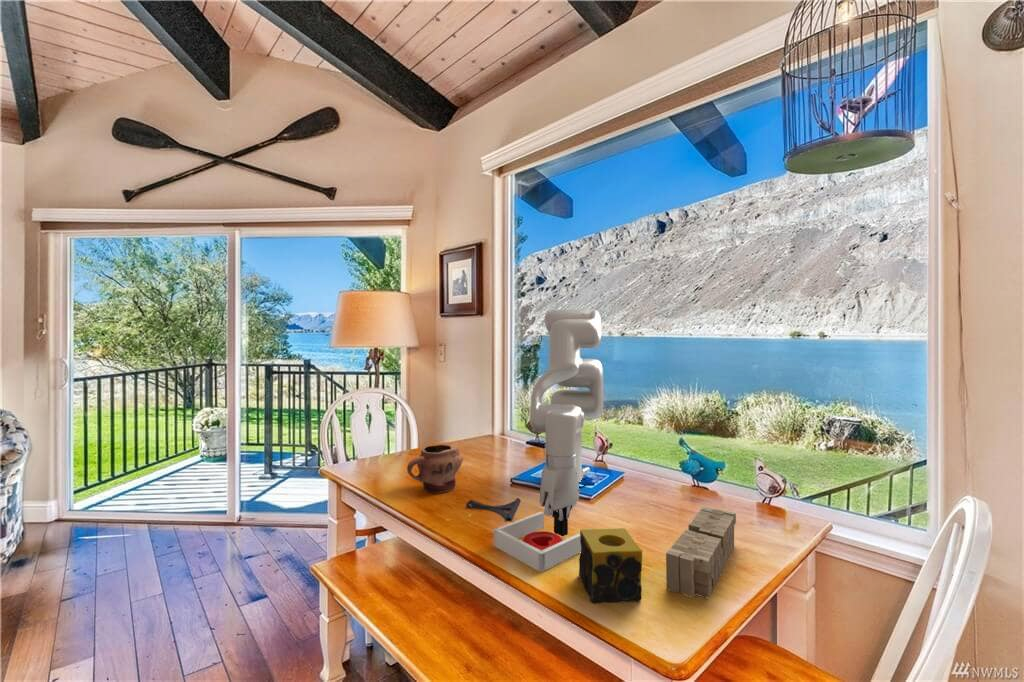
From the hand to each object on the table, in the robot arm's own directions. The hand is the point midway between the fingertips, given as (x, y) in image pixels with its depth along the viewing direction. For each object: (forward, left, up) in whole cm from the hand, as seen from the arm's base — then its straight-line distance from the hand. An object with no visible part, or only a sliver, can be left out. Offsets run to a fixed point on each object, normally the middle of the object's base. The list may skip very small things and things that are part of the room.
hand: (560, 533), depth 111 cm
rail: (+7, 0, -1) cm, 7 cm away
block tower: (-14, +30, -2) cm, 33 cm away
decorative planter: (+5, -50, -1) cm, 50 cm away
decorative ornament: (+8, +2, -2) cm, 9 cm away
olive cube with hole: (+9, +21, -2) cm, 23 cm away
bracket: (+1, -26, -2) cm, 26 cm away
